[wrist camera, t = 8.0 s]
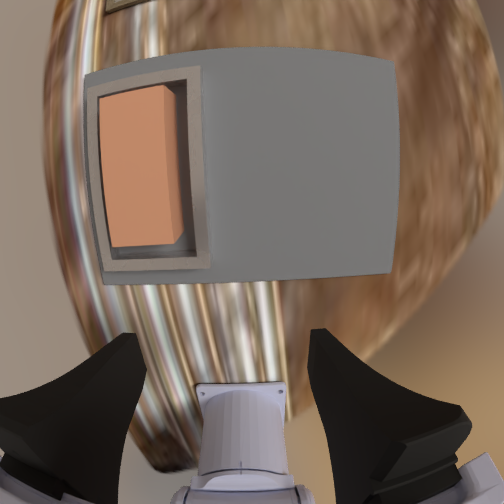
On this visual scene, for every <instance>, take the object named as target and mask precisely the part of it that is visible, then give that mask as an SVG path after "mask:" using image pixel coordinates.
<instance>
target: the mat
mask: <svg viewBox="0 0 504 504" xmlns="http://www.w3.org/2000/svg"><path fill="white" fill-rule="evenodd" d="M191 66H201V68H202V70H203V72H204V112H205V139H206V161H207V180H208V196H209V212H210V226H211V239H212V251H213V263H212V266H211V268H206V269H177V270H142V271H104V267H103V262H102V258H101V252H100V247H99V242H98V236H97V230H96V223H95V217H94V209H93V202H92V193H91V184H90V173H89V160H88V140H87V88H90V87H93V86H97V85H100V84H104V83H107V82H111V81H115V80H119V79H123V78H128V77H132V76H137V75H142V74H147V73H152V72H157V71H163V70H169V69H176V68H183V67H191ZM168 89H169V90H170V91H172V92H173V93H174V94H175V95H176V111H177V137H178V156H179V172H180V186H181V198H182V210H183V220H184V232H183V233H182V234H181V235H180V237H179V238H178V239H177V241H176V242H175V243H174V244H160V245H142V246H125V247H119V249H120V253H128V252H150V251H172V250H195V249H196V241H195V230H194V218H193V206H192V193H191V178H190V161H189V140H188V112H187V85H184V86H176V87H169V88H168ZM84 150H85V166H86V178H87V188H88V197H89V205H90V212H91V219H92V226H93V232H94V238H95V244H96V249H97V254H98V259H99V264H100V269H101V273H102V278H103V282H104V285H135V284H191V283H224V282H250V281H273V280H292V279H311V278H327V277H343V276H357V275H371V274H384V273H391V269H392V262H393V254H394V246H395V237H396V226H397V214H398V199H399V176H400V134H399V111H398V97H397V85H396V76H395V67H394V62H393V61H389V60H384V59H380V58H375V57H369V56H364V55H358V54H352V53H345V52H337V51H329V50H319V49H307V48H291V47H237V48H220V49H208V50H199V51H190V52H183V53H176V54H169V55H163V56H158V57H152V58H147V59H143V60H138V61H133V62H129V63H125V64H121V65H117V66H113V67H110V68H106V69H103V70H99V71H96V72H93V73H89V74H86V75H85V81H84Z"/></svg>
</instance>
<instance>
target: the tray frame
mask: <svg viewBox="0 0 504 504" xmlns="http://www.w3.org/2000/svg"><path fill="white" fill-rule="evenodd" d="M160 85H164V86H166V87H167V88H169V87H176V86H184V85H187V112H188V140H189V161H190V178H191V193H192V206H193V218H194V230H195V241H196V249H195V250H172V251H150V252H128V253H120V249H119V247H112V242H111V237H110V230H109V224H108V217H107V210H106V202H105V194H104V184H103V174H102V161H101V145H100V98H104V97H108V96H112V95H116V94H120V93H125V92H129V91H134V90H139V89H144V88H149V87H154V86H160ZM87 140H88V160H89V173H90V184H91V193H92V202H93V209H94V217H95V223H96V230H97V236H98V242H99V247H100V252H101V258H102V262H103V267H104V271H142V270H177V269H206V268H211V266H212V263H213V251H212V239H211V226H210V212H209V196H208V180H207V161H206V139H205V112H204V72H203V70H202V68H201V66H191V67H183V68H176V69H169V70H163V71H157V72H152V73H147V74H142V75H137V76H132V77H128V78H123V79H119V80H115V81H111V82H107V83H104V84H100V85H97V86H93V87H90V88H87Z"/></svg>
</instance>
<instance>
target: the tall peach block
mask: <svg viewBox="0 0 504 504" xmlns="http://www.w3.org/2000/svg"><path fill="white" fill-rule="evenodd" d="M100 145H101V161H102V174H103V184H104V194H105V202H106V210H107V217H108V224H109V230H110V237H111V242H112V247H125V246H142V245H160V244H174V243H175V242H176V241H177V239H178V238H179V237H180V235H181V234H182V233H183V232H184V220H183V210H182V198H181V186H180V172H179V156H178V137H177V111H176V95H175V94H174V93H173V92H172V91H170V90H169V89H168V88H167V87H166V86H164V85H160V86H154V87H149V88H144V89H139V90H134V91H129V92H125V93H120V94H116V95H112V96H108V97H104V98H100Z"/></svg>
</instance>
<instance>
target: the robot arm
mask: <svg viewBox="0 0 504 504" xmlns="http://www.w3.org/2000/svg"><path fill="white" fill-rule="evenodd" d="M307 369H308V374H309V380H310V385H311V389H312V392H313V396H314V399H315V402H316V405H317V408H318V411H319V414H320V417H321V420H322V423H323V426H324V429H325V433H326V437H327V442H328V447H329V453H330V459H331V465H332V472H333V478H334V487H335V496H336V504H503V503H504V481H503V479H502V477H501V476H500V473H499V472H498V470H497V468H496V466H495V464H494V463H493V461H492V460H491V458H490V456H489V454H488V453H487V452H485V453H483V454H481V455H480V456H478V457H476V458H475V459H473V460H471V461H469V462H467V463H466V464H464V465H463V466H461V467H460V468H459V469H457V467H456V465H455V463H456V462H457V461H458V458H457V456H456V454H455V452H456V451H457V450H458V448H459V447H460V446H461V445H462V443H463V442H464V441H465V440H466V438H467V437H468V435H469V434H470V431H471V428H472V423H471V421H470V419H469V418H468V416H467V415H466V414H465V412H464V410H463V409H462V408H461V406H460V405H455V404H451V403H447V402H442V401H438V400H435V399H432V398H429V397H426V396H423V395H421V394H418V393H415V392H413V391H411V390H409V389H407V388H405V387H402V386H400V385H398V384H396V383H395V382H393V381H391V380H389V379H388V378H386V377H384V376H383V375H381V374H379V373H378V372H376V371H375V370H373V369H372V368H371V367H369V366H368V365H367V364H365V363H364V362H363V361H361V360H360V359H359V358H358V357H356V356H355V355H354V354H353V353H352V352H350V351H349V350H348V349H347V348H346V347H345V346H344V345H343V344H342V343H341V342H339V341H338V340H337V339H336V338H335V337H334V336H333V335H332V334H331V333H330V332H329V331H328V330H327V329H326V328H323V329H312V330H311V333H310V345H309V355H308V365H307ZM146 371H147V368H146V365H145V362H144V359H143V356H142V353H141V349H140V346H139V343H138V339H137V336H136V333H122V334H120V335H119V336H118V337H116V338H115V339H113V340H112V341H111V342H109V343H108V344H107V345H106V346H104V347H103V348H102V349H100V350H99V351H98V352H96V353H95V354H94V355H92V356H91V357H90V358H89V359H87V360H85V361H84V362H83V363H81V364H80V365H78V366H77V367H76V368H74V369H73V370H71V371H69V372H68V373H66V374H64V375H63V376H61V377H59V378H57V379H56V380H53V381H51V382H49V383H47V384H44V385H42V386H40V387H38V388H35V389H33V390H30V391H27V392H24V393H20V394H17V395H13V396H9V397H4V398H0V448H1V449H2V450H3V451H4V452H5V454H4V456H3V457H1V456H0V504H118V484H119V474H120V466H121V459H122V453H123V448H124V443H125V438H126V434H127V431H128V428H129V425H130V422H131V419H132V417H133V414H134V411H135V408H136V406H137V403H138V400H139V398H140V395H141V392H142V389H143V385H144V381H145V376H146ZM279 390H281V391H279ZM196 392H197V396H198V400H199V404H200V408H201V412H202V416H203V420H204V425H203V433H202V441H201V450H200V458H199V467H198V476H192V477H191V485H190V486H183V487H181V488H180V489H179V490H178V491H177V492H176V493H175V494H174V495H173V497H172V499H171V502H170V504H315V500H314V497H313V494H312V492H311V491H310V490H309V489H307V488H305V486H304V485H295V486H294V480H293V475H289V472H288V464H287V457H286V449H285V441H284V433H283V427H284V414H285V398H286V384H285V383H284V382H271V383H251V384H198V385H197V386H196ZM201 392H204V393H201Z"/></svg>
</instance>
